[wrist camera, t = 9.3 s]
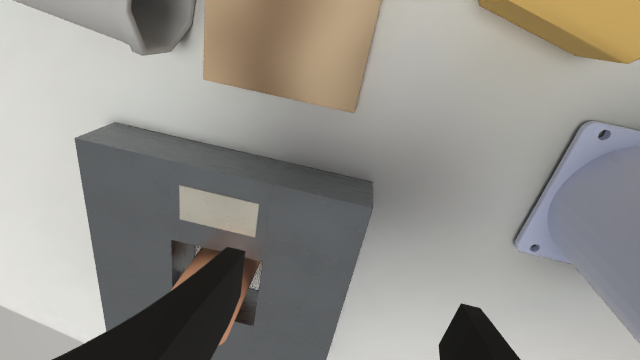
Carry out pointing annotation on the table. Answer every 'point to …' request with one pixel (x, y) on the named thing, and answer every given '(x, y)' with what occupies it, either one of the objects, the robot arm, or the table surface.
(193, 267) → the peg
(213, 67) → the tan square tile
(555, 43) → the rubber stamp
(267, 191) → the grey square slab
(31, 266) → the table surface
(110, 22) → the tube
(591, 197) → the robot arm
